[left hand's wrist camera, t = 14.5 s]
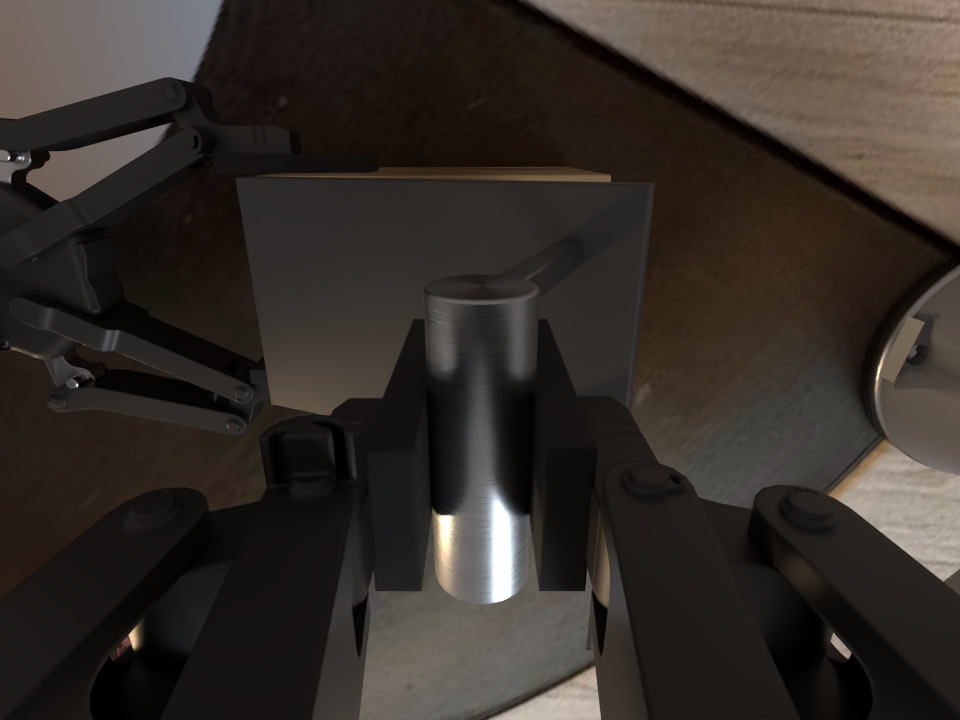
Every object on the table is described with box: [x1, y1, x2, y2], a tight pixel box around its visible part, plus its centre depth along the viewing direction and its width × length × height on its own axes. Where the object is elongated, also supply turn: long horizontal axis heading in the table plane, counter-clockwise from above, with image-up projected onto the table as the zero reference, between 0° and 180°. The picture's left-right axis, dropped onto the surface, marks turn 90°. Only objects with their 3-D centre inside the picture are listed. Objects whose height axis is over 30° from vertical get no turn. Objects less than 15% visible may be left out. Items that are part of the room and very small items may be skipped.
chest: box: [259, 167, 611, 182], centre depth 27 cm, size 14×9×11 cm
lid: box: [236, 176, 655, 605], centre depth 15 cm, size 14×9×9 cm, turn 90°
